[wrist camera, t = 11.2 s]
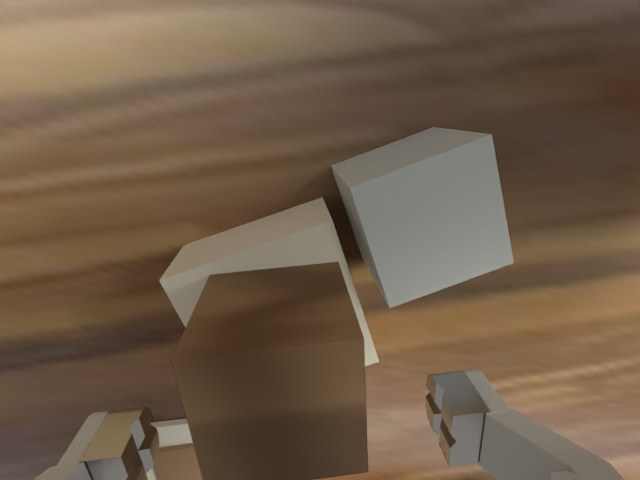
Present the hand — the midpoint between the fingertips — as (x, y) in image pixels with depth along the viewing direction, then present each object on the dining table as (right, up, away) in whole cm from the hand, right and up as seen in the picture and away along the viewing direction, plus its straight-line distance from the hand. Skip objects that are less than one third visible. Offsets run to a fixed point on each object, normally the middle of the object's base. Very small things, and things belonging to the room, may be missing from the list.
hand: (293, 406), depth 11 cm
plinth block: (-1, +3, +8) cm, 9 cm away
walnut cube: (-1, +1, +4) cm, 5 cm away
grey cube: (+4, +7, +7) cm, 11 cm away
